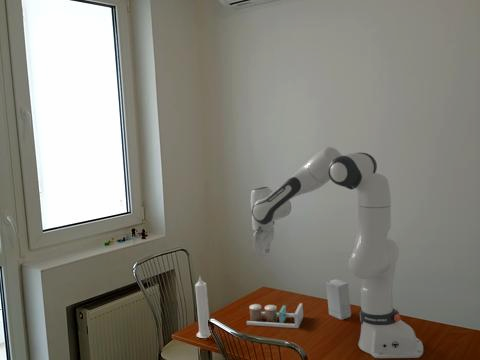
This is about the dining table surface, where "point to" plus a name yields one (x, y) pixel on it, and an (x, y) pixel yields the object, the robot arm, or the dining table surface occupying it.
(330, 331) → the dining table surface
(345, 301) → the skincare box
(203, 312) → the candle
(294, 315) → the lane
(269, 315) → the jar front
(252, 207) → the robot arm
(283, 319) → the plate
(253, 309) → the jar
